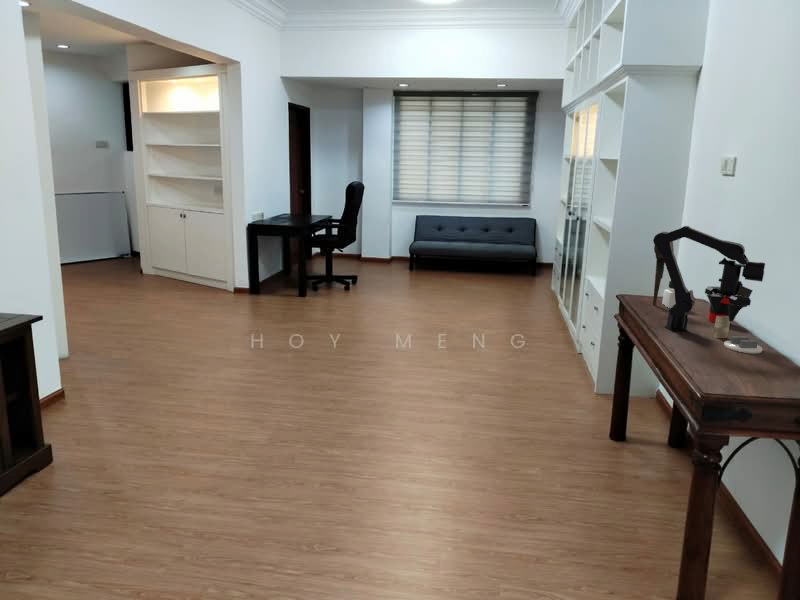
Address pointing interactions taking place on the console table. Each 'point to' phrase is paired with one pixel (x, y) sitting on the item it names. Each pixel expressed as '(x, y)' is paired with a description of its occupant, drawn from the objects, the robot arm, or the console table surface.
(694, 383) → the console table surface
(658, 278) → the decorative torch
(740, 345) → the dish
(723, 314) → the soda can
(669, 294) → the medicine bottle
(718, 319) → the block
